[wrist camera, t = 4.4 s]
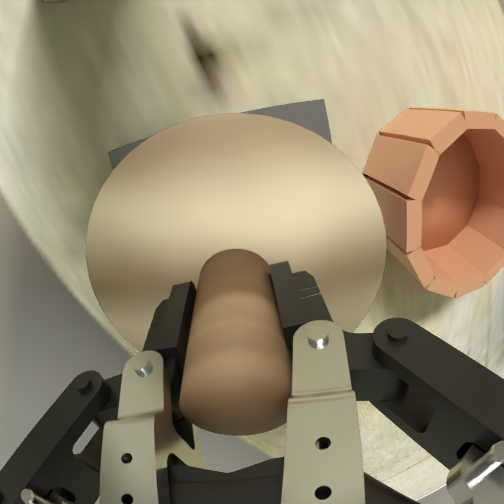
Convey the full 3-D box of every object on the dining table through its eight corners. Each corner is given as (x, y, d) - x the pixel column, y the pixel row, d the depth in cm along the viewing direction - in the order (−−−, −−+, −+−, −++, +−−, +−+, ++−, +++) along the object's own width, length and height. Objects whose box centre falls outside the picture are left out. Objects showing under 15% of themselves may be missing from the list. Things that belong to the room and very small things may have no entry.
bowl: (352, 111, 17) (398, 111, 11) (477, 109, 16) (529, 116, 11) (367, 270, 22) (401, 316, 16) (476, 241, 21) (517, 271, 16)
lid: (53, 171, 10) (-63, 237, 4) (364, 90, 9) (496, 88, 3) (157, 382, 16) (140, 482, 10) (375, 341, 15) (421, 438, 9)
